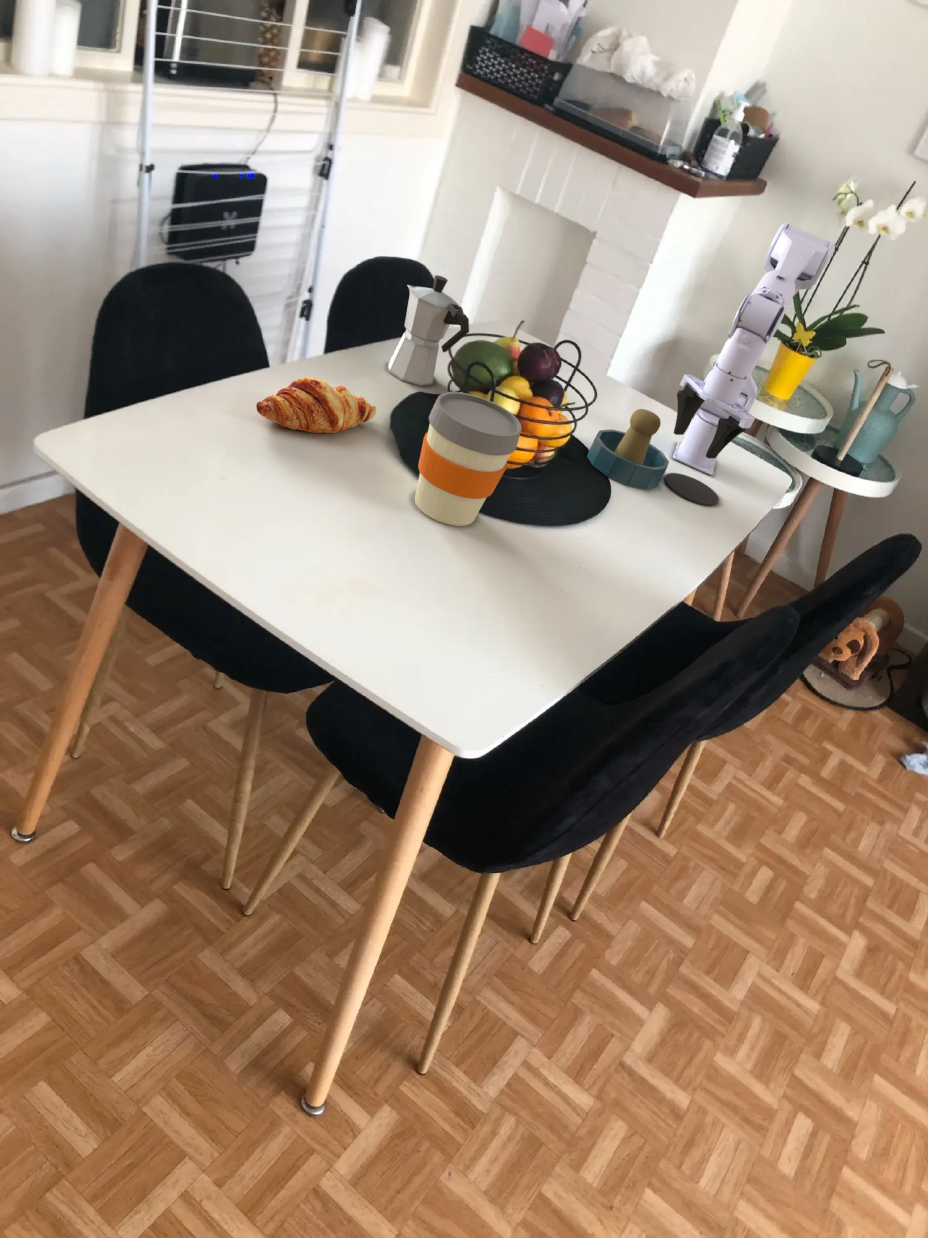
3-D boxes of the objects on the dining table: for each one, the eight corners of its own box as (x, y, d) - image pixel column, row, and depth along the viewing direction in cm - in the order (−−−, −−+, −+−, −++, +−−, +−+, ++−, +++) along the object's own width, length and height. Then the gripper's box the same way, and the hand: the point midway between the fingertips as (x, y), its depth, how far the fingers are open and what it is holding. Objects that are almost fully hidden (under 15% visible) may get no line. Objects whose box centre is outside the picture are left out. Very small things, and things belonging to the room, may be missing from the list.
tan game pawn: (638, 481, 175) (665, 425, 169) (606, 468, 175) (632, 411, 169) (639, 468, 180) (666, 413, 174) (608, 456, 180) (633, 400, 174)
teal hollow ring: (595, 441, 183) (603, 422, 181) (662, 471, 182) (672, 452, 180) (581, 465, 172) (590, 444, 170) (653, 497, 171) (663, 477, 169)
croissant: (355, 430, 161) (354, 379, 160) (396, 432, 154) (396, 379, 153) (240, 432, 147) (238, 376, 145) (280, 434, 140) (278, 375, 138)
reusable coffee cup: (435, 477, 149) (468, 385, 141) (502, 520, 145) (539, 428, 137) (384, 495, 140) (416, 397, 132) (455, 541, 135) (492, 443, 128)
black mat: (667, 468, 184) (668, 466, 184) (719, 492, 184) (720, 490, 183) (660, 488, 176) (661, 486, 175) (715, 512, 175) (716, 510, 175)
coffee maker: (369, 359, 179) (398, 260, 170) (401, 356, 186) (430, 261, 176) (429, 399, 173) (462, 299, 164) (460, 394, 180) (494, 298, 170)
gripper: (684, 348, 162) (649, 423, 169) (750, 392, 154) (710, 468, 161) (710, 350, 167) (675, 423, 174) (776, 392, 159) (736, 467, 166)
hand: (694, 445), depth 168 cm, fingers open, 7 cm apart
